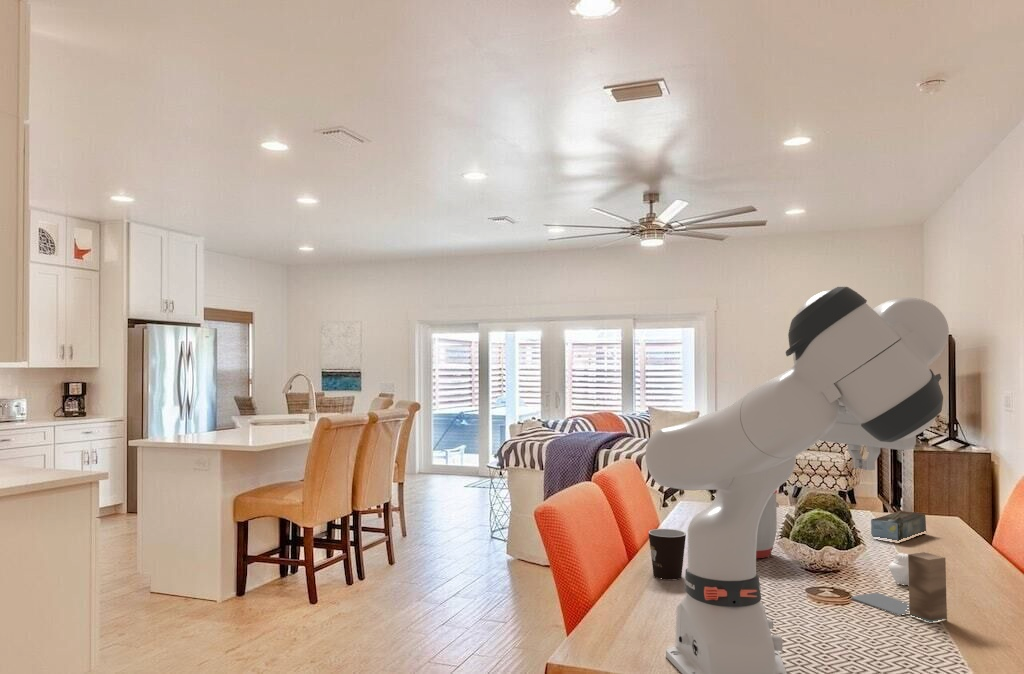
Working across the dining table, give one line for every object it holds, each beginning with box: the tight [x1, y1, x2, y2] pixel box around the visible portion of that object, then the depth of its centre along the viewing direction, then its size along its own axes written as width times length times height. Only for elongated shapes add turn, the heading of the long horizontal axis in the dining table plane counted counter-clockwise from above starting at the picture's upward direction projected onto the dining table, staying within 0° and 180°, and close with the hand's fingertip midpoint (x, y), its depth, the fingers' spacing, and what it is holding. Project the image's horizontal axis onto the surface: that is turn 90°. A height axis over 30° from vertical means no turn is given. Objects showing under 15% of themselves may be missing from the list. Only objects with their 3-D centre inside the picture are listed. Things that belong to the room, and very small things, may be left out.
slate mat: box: [850, 592, 909, 615], centre depth 150 cm, size 12×8×1 cm, turn 23°
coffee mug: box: [648, 528, 687, 580], centre depth 172 cm, size 12×9×10 cm
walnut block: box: [907, 551, 948, 622], centre depth 142 cm, size 4×4×12 cm
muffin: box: [888, 552, 909, 585], centre depth 164 cm, size 6×6×7 cm
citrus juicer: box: [715, 489, 780, 559], centre depth 191 cm, size 16×17×20 cm
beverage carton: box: [870, 510, 927, 541], centre depth 211 cm, size 8×19×7 cm, turn 129°
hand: (864, 469), depth 140 cm, fingers closed
